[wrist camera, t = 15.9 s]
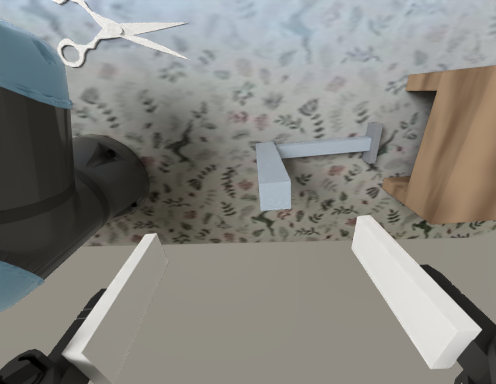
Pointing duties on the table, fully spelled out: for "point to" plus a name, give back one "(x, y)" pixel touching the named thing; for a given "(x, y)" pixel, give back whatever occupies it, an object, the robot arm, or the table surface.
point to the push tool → (272, 168)
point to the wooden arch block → (454, 149)
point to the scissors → (114, 34)
